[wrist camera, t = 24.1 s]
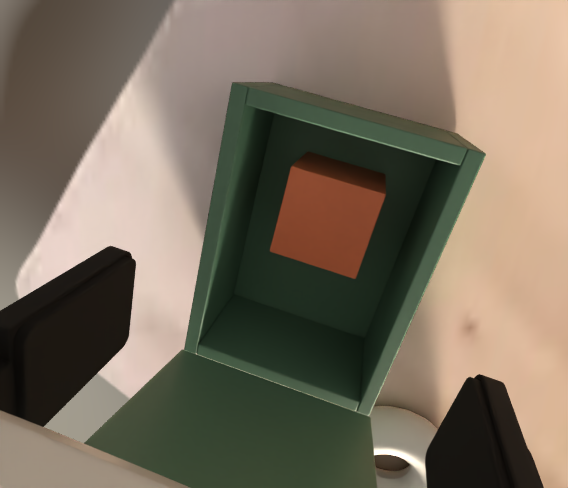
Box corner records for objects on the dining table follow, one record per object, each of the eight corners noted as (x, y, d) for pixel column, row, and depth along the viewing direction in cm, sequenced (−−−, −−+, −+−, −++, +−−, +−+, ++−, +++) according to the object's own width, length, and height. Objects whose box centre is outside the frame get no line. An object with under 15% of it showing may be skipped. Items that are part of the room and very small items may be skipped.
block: (307, 151, 26) (291, 165, 21) (385, 174, 25) (386, 194, 21) (287, 223, 28) (269, 251, 23) (360, 246, 27) (355, 279, 23)
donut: (468, 483, 33) (433, 385, 31) (477, 525, 30) (439, 421, 27) (349, 494, 37) (308, 407, 34) (347, 533, 33) (301, 441, 31)
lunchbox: (271, 82, 25) (231, 82, 19) (458, 134, 24) (487, 153, 18) (225, 294, 32) (183, 350, 25) (372, 344, 30) (369, 417, 24)
